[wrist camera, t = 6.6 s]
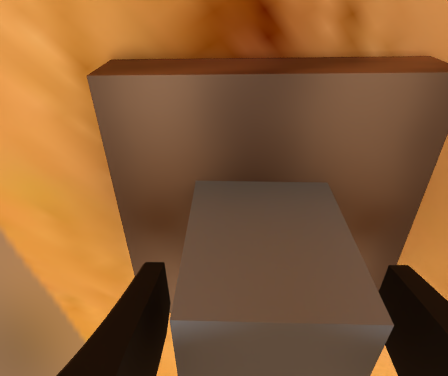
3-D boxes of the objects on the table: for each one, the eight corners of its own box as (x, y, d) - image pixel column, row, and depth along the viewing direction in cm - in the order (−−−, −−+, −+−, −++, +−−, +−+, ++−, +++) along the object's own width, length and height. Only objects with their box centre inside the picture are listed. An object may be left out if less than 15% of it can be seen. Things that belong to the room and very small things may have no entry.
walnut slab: (423, 53, 12) (471, 72, 10) (357, 270, 19) (376, 315, 16) (115, 56, 13) (86, 75, 10) (155, 269, 19) (143, 312, 17)
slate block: (327, 182, 12) (394, 325, 7) (308, 273, 15) (346, 424, 10) (195, 180, 12) (169, 320, 7) (200, 271, 15) (184, 419, 10)
